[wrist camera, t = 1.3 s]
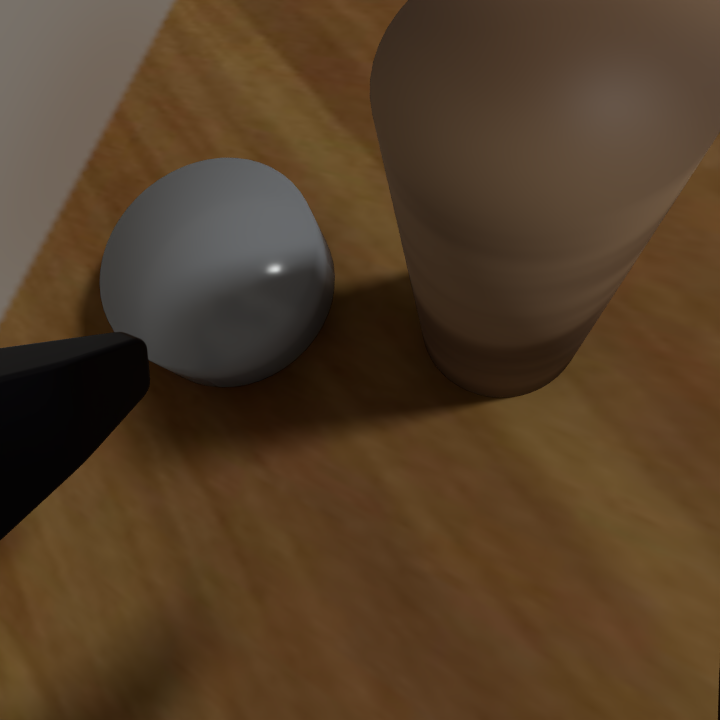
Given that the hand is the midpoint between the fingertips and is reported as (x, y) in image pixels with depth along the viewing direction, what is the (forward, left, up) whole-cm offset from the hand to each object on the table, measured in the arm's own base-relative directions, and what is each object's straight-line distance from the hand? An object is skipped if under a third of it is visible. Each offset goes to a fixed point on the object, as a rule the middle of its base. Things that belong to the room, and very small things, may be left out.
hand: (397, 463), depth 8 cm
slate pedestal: (+4, +12, -13) cm, 18 cm away
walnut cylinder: (+7, +1, -13) cm, 15 cm away
